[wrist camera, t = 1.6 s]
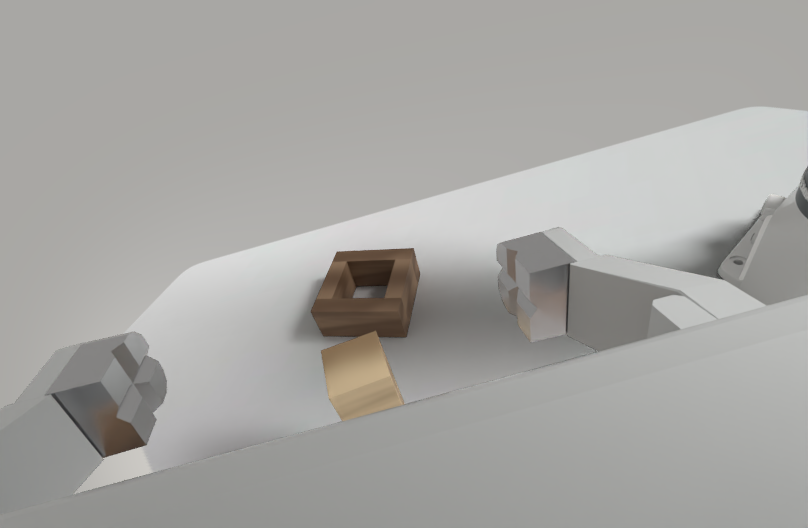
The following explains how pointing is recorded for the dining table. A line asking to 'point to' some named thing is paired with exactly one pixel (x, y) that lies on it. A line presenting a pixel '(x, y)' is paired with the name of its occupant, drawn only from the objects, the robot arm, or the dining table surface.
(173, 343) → the dining table surface
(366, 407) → the light wooden block
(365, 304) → the wooden square ring
